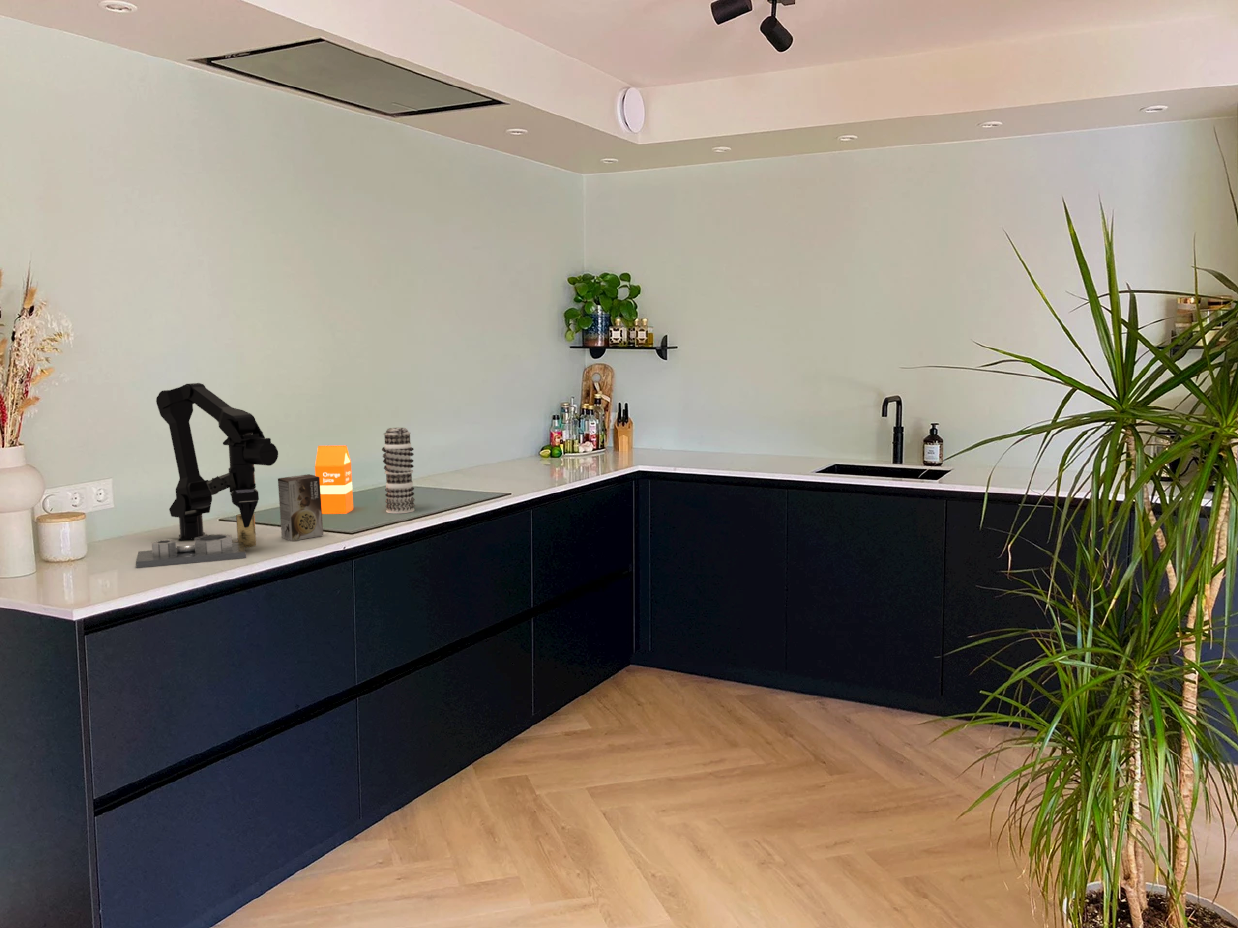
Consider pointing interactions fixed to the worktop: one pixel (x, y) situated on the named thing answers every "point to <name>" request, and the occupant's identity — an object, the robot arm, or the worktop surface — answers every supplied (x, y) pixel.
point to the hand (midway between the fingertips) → (245, 523)
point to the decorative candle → (398, 471)
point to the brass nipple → (246, 532)
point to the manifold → (191, 551)
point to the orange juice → (334, 479)
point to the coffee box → (300, 507)
